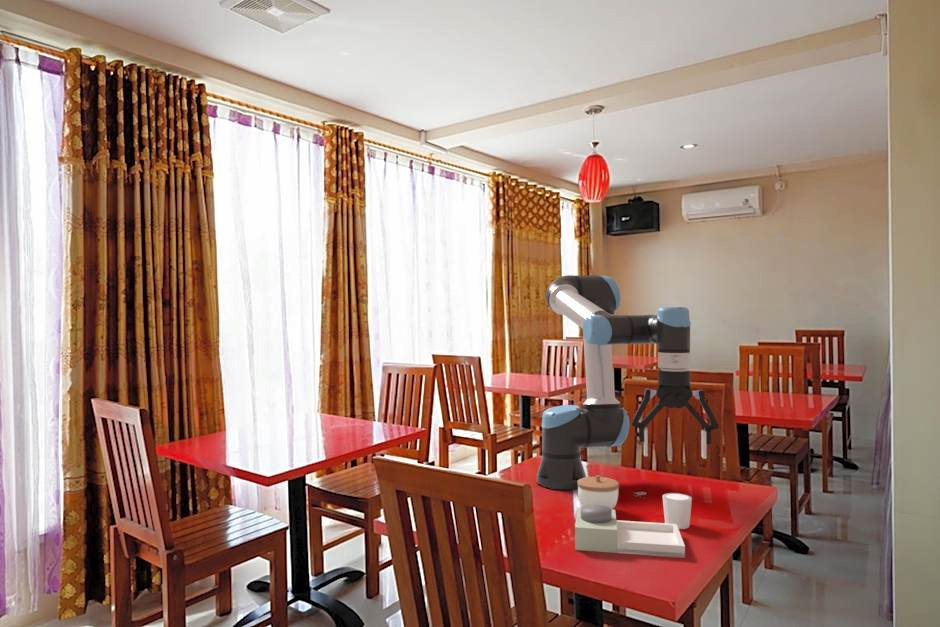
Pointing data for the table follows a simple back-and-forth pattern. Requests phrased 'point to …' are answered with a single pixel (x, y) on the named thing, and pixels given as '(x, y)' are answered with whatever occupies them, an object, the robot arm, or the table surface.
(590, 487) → the lidded jar
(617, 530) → the knobbed tray panel
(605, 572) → the table surface
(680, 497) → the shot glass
